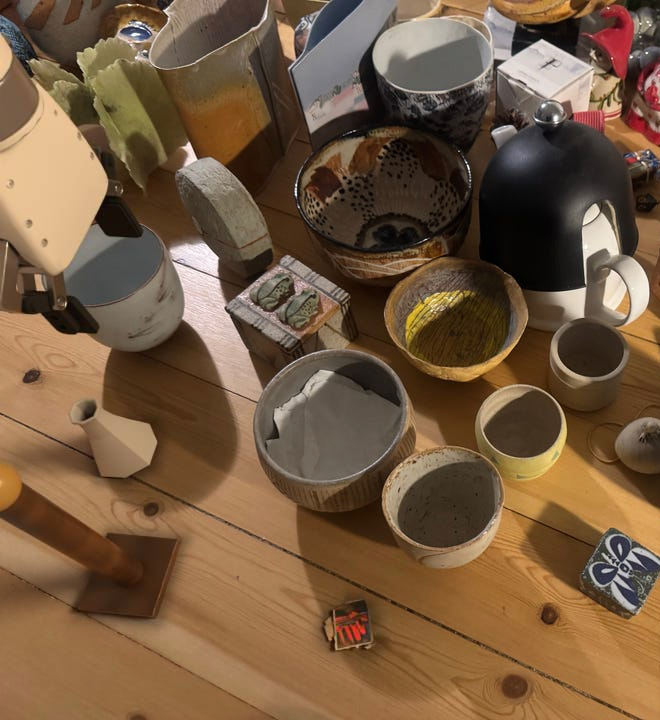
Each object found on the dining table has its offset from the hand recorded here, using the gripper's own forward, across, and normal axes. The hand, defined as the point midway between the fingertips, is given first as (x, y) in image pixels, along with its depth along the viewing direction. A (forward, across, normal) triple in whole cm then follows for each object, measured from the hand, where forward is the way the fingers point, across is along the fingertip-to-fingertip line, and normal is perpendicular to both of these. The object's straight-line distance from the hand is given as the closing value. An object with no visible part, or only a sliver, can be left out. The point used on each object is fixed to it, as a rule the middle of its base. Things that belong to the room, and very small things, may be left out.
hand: (104, 280), depth 57 cm
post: (+31, +16, -6) cm, 35 cm away
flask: (+31, +2, -12) cm, 33 cm away
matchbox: (+31, +19, +18) cm, 40 cm away
